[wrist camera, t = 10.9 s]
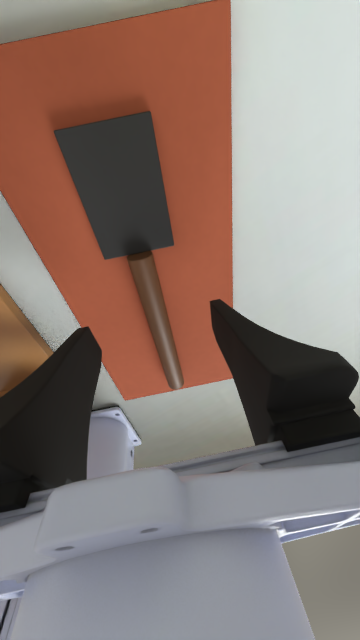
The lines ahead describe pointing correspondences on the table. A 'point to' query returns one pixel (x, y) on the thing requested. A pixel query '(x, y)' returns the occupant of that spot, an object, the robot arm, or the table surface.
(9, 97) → the mat
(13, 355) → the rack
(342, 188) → the table surface
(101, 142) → the spatula
